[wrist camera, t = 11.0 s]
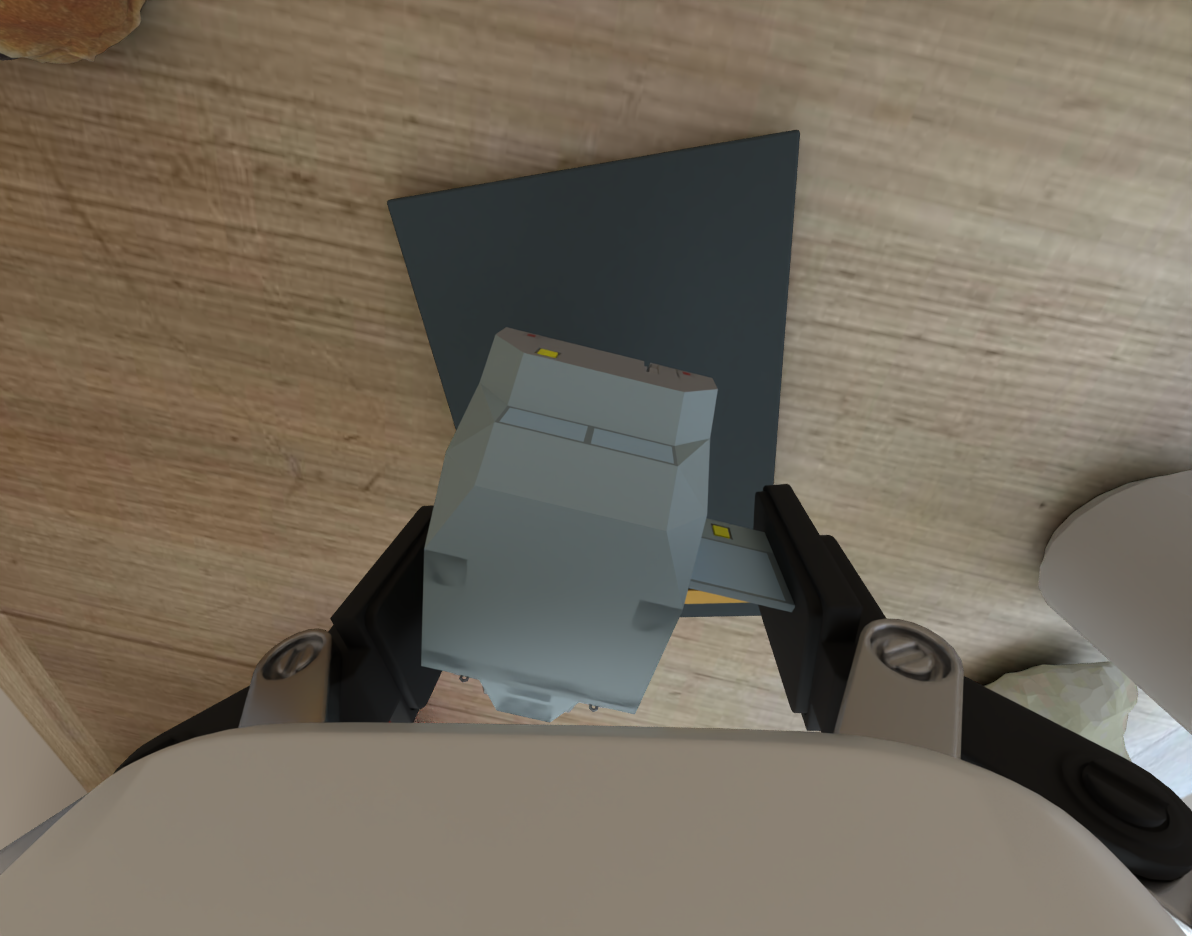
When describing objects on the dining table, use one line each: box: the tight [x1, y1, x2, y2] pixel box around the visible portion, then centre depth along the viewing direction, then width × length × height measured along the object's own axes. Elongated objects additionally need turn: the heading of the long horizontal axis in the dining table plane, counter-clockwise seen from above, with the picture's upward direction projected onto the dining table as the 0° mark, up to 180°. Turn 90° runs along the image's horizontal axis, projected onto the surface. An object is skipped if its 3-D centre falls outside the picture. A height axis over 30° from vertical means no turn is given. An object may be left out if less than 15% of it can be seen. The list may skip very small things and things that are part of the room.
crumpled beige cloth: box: [984, 661, 1138, 761], centre depth 22 cm, size 12×3×15 cm
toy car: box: [421, 327, 795, 722], centre depth 10 cm, size 6×10×5 cm, turn 167°
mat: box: [387, 130, 800, 617], centre depth 17 cm, size 12×18×1 cm, turn 7°
